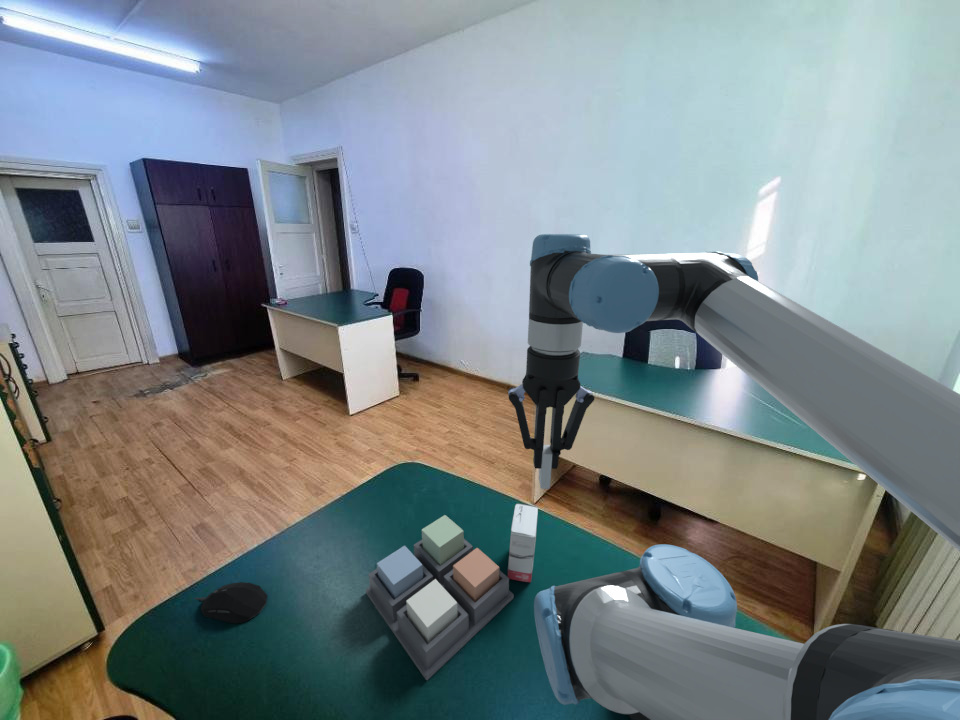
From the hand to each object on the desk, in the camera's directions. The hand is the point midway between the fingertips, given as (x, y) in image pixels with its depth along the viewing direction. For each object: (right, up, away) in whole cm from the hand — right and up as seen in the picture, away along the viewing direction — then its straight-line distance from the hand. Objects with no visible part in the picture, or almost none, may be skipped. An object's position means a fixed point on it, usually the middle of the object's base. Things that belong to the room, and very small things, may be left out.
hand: (544, 483), depth 61 cm
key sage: (-18, -18, +15) cm, 30 cm away
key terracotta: (-11, -22, +8) cm, 26 cm away
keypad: (-18, -25, +10) cm, 32 cm away
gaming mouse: (-58, -26, +8) cm, 64 cm away
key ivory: (-19, -24, +2) cm, 31 cm away
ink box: (-2, -22, +16) cm, 28 cm away
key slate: (-25, -22, +9) cm, 35 cm away
